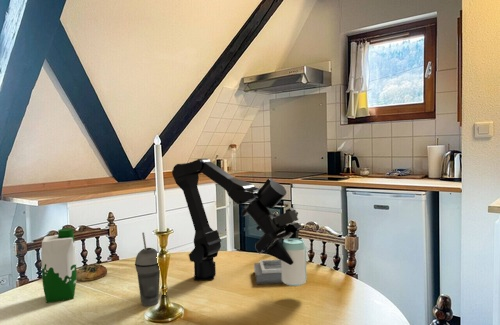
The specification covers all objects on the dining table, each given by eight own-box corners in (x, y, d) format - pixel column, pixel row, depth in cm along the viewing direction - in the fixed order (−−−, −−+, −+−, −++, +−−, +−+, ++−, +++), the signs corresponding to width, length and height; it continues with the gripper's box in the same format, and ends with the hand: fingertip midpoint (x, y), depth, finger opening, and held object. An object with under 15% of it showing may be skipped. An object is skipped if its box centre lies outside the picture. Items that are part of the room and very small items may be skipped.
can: (278, 285, 103) (277, 242, 103) (285, 276, 110) (285, 236, 109) (303, 288, 101) (302, 244, 100) (309, 279, 107) (308, 238, 106)
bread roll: (112, 270, 134) (110, 257, 133) (100, 285, 123) (98, 271, 122) (81, 272, 134) (79, 259, 133) (67, 288, 123) (65, 274, 122)
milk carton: (77, 299, 108) (73, 231, 108) (41, 305, 105) (38, 235, 104) (78, 289, 116) (75, 226, 116) (45, 294, 113) (42, 229, 112)
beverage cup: (156, 309, 100) (153, 235, 99) (131, 307, 101) (128, 235, 100) (167, 298, 107) (164, 229, 106) (144, 297, 108) (141, 229, 108)
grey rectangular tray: (257, 284, 116) (256, 271, 116) (254, 271, 128) (254, 259, 127) (301, 282, 116) (301, 269, 116) (294, 269, 128) (294, 257, 128)
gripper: (263, 204, 98) (302, 251, 93) (295, 195, 114) (329, 235, 108) (240, 230, 103) (275, 276, 98) (273, 218, 119) (305, 257, 113)
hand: (298, 260), depth 104 cm, fingers closed on can, 7 cm apart
